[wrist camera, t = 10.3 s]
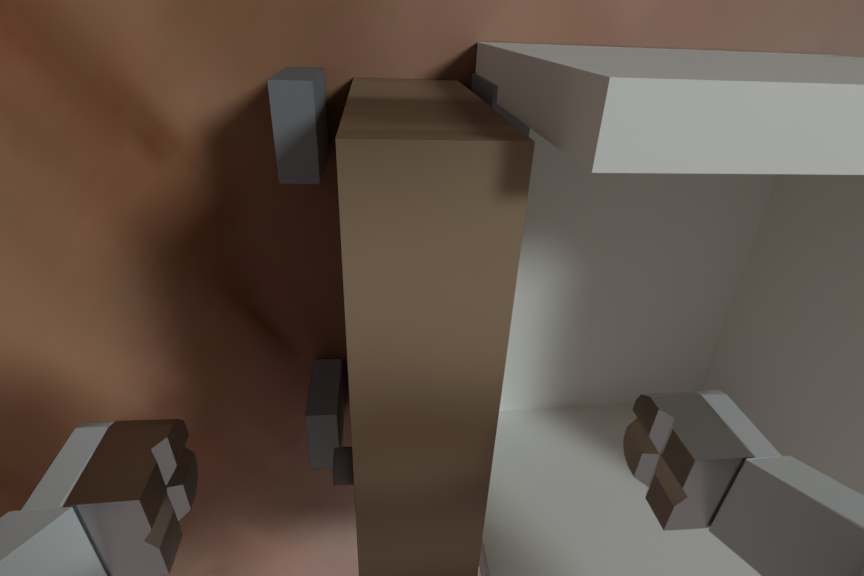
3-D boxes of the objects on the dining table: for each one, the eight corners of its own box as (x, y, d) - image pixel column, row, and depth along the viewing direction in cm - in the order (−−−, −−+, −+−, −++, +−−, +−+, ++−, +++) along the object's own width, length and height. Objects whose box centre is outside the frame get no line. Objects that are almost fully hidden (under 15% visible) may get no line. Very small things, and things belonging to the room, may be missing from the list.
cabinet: (283, 35, 13) (160, 64, 6) (832, 54, 15) (1321, 97, 7) (320, 423, 20) (286, 685, 12) (699, 406, 22) (881, 625, 14)
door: (328, 76, 14) (285, 137, 7) (457, 80, 15) (534, 141, 8) (347, 401, 20) (333, 610, 13) (439, 398, 20) (474, 598, 13)
